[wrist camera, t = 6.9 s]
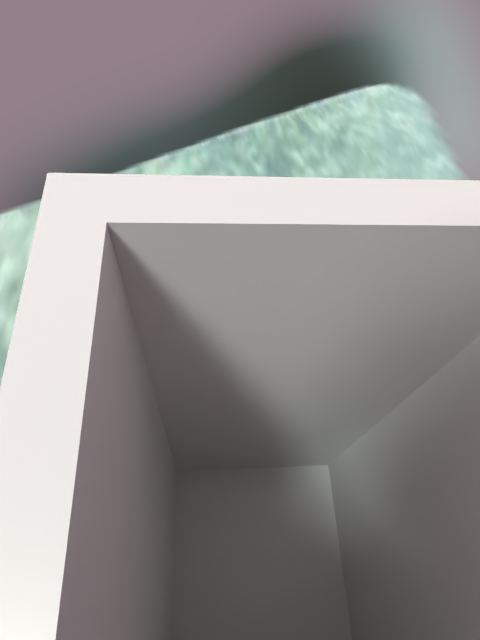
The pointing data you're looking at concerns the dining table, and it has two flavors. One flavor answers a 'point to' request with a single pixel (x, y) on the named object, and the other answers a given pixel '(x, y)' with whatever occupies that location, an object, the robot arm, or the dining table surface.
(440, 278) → the white square vase
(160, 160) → the dining table surface
